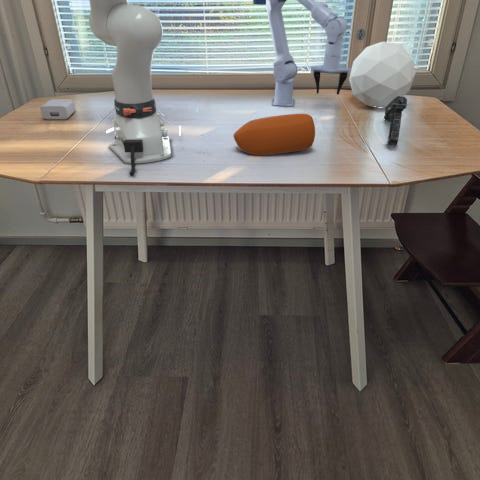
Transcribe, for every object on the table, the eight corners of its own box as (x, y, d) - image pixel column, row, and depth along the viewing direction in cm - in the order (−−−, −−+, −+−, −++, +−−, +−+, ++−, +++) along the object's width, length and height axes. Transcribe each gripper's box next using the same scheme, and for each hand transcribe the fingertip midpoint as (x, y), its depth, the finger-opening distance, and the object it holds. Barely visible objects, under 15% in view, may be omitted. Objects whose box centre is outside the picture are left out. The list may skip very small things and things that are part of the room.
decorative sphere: (334, 74, 174) (357, 27, 150) (388, 72, 178) (419, 26, 154) (346, 121, 167) (373, 80, 143) (402, 118, 171) (437, 78, 147)
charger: (80, 107, 160) (68, 119, 148) (56, 106, 160) (42, 119, 148) (77, 94, 158) (65, 106, 145) (53, 94, 157) (39, 106, 145)
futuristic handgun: (389, 146, 153) (397, 104, 149) (399, 145, 125) (409, 94, 122) (379, 144, 154) (386, 103, 150) (386, 144, 126) (395, 93, 122)
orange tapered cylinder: (237, 164, 122) (319, 153, 123) (234, 130, 116) (319, 118, 117) (233, 149, 132) (309, 139, 133) (230, 116, 126) (309, 106, 127)
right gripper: (312, 56, 146) (308, 95, 154) (353, 58, 144) (347, 97, 152) (312, 52, 152) (308, 90, 159) (352, 54, 150) (346, 92, 158)
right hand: (327, 93), depth 156 cm, fingers open, 7 cm apart
